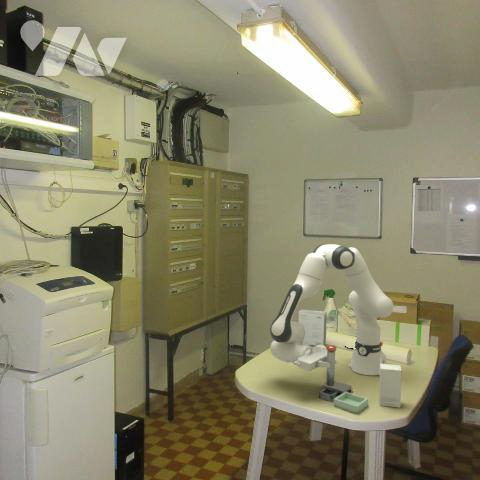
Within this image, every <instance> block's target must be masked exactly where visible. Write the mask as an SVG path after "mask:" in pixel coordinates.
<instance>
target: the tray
mask: <svg viewBox="0 0 480 480" xmlns="http://www.w3.org/2000/svg"><path fill="white" fill-rule="evenodd" d="M333 407H335V408H337V409H340V410H344V411H346V412H349V413H351V414H356V415H358V414H359V413H360V412H362V411H364V410H365V408H368V407H369V398H368V397H364V396H361V395H357V394H355V393H348V392H344V393H342V394H341V395H339V396H338V397H336V398H335V399H334V401H333Z"/></svg>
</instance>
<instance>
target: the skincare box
mask: <svg viewBox="0 0 480 480" xmlns="http://www.w3.org/2000/svg"><path fill="white" fill-rule="evenodd" d="M378 385H379V386H378V387H379V388H378V389H379V391H378V404H379V406H383V407H390V408H392V407H393V408H399V409H400V408H401V397H402V396H401V395H402V391H401V390H402V367H401V364H399V365H398V364H391V363H390V364H389V363H387V364H380V375H379V384H378Z"/></svg>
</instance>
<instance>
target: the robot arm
mask: <svg viewBox="0 0 480 480" xmlns="http://www.w3.org/2000/svg"><path fill="white" fill-rule="evenodd" d="M328 269H334V270H335V269H336V270H341V271H342V272H343V274H344V276H345V278H346V280H347V282H348V285H349V287H350V288H351V290H352V291H351V292H350V293H349V295H348V305H349V306H350V307H351V309H352V311H353V313H354V318H355V323H356V342H355V348H356V349H355V350H354V349H352V353H351V361H350V363H348V367H349V368H351V371H353V372H354V373H357V374H360V375H365V376H380V364H388V363H387V355H386V354H385V353H384V352H383V351H382V347H383V345H384V343H383V341H381V326H380V324H379V323H378V320H377V319H376V318H385V319H386V318H387V317H389V316H390V315H392V313H393V311H394V302H393V300H392V299H391V298H390V297H389V296H387V295H386V294H385V293H384V291H383V290H382V289H381V288H380V286H379V285H378V284H377V282H375V280H374V278H373V276H372V274H371V272H370V270H369V268H368V265H367V263H366V261H365V259H364V257H363V256H362V253H360V251H359V250H358V249H357V248H356V247H352V246H351V247H347V246H344V245H339V244H335V243H333V244H330V243H329V244H328V243H322V244H319V245H317V246H316V247H315V248H314V249H313V251H312V252H311V253H308V254H307V255H306V256H305V258H304V260H303V261H302V264H301V265H300V268H299V271H298V273H297V274H298V275H297V277H296V278H295V281H294V283H293V285H292V286H291V287H290V289H289V290H288V292H287V293H286V296H285V298H284V300H283V302H282V305H281V307H280V310H279V311H278V314H277V316H275V319H274V320H272V322H271V324H270V328H269V333H270V336H271V338H272V340H273V341H272V342H271V343H270V353H271V356H273V358H275V359H277V360H279V361H282V362H284V363H292V364H293V365H296V366H297V368H299V369H301V370H304V371H306V372H312V371H314V370H316V369H318V368H327V367H328V368H329V367H331V363H330V362H327V349H326V347H325V348H321V347H317V345H308V346H307V345H302V342H303V339H304V335H305V330H304V327H303V326H302V325H301V324H300V323H298V321H297V322H296V321H295V320H294V321H293V318H294V315H295V314H296V311H297V308H298V306H299V305H300V303H302V301H303V300H305V299H307V298H311V297H313V296H315V295H316V294H317V293H318V292H319V290H320V288H321V285H322V282H323V279H324V275H325V273H326V271H327V270H328ZM336 364H337V359H335V365H336Z"/></svg>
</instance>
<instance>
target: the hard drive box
mask: <svg viewBox="0 0 480 480" xmlns="http://www.w3.org/2000/svg"><path fill="white" fill-rule="evenodd" d="M327 314H328V311H322V310H321V311H320V310H312V309H311V310H310V309H300V310H299V311H298V312H297V322H298V323H300V324H301V325H302V326H303V327H304V330H305V335H304V339H303V342H302V345H307V346H308V345H324V346H325V347H327V343H326V342H327V319H328V318H327V316H328V315H327Z"/></svg>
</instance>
